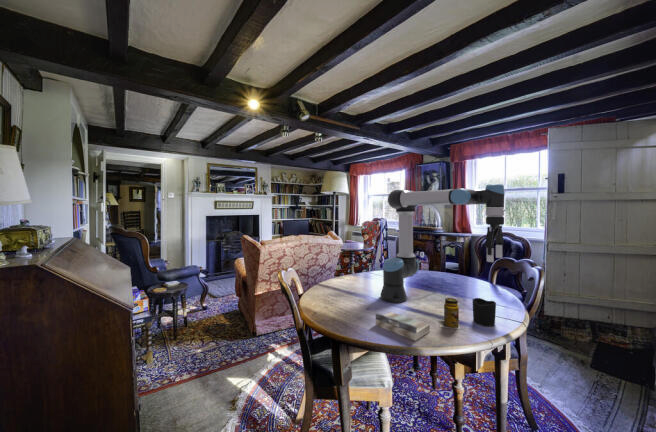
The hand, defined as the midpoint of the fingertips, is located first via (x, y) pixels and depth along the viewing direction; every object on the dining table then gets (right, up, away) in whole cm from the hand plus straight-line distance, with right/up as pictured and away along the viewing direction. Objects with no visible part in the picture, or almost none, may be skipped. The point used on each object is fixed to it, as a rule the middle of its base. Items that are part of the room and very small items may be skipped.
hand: (494, 259), depth 130 cm
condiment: (-26, -29, -8) cm, 39 cm away
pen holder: (-9, -29, -6) cm, 30 cm away
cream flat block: (-48, -29, -11) cm, 57 cm away
